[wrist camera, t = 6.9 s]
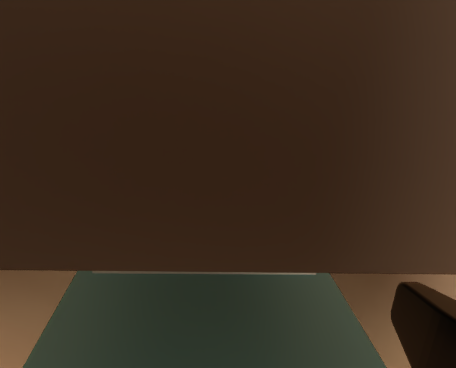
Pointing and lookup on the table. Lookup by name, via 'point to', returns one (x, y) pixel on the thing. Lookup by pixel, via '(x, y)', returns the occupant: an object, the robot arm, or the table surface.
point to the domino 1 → (228, 136)
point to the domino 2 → (203, 322)
